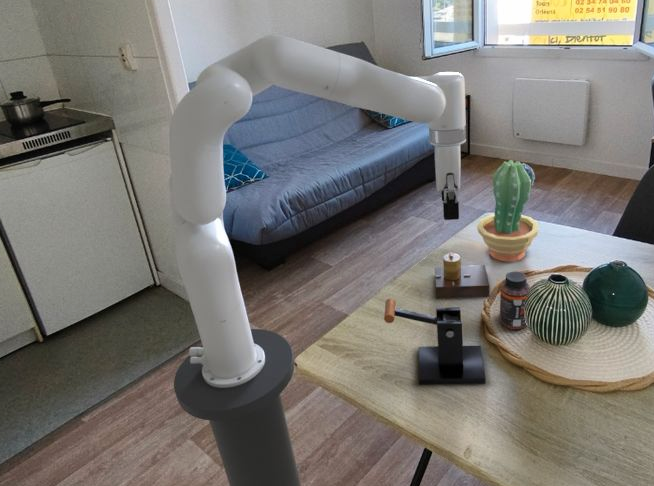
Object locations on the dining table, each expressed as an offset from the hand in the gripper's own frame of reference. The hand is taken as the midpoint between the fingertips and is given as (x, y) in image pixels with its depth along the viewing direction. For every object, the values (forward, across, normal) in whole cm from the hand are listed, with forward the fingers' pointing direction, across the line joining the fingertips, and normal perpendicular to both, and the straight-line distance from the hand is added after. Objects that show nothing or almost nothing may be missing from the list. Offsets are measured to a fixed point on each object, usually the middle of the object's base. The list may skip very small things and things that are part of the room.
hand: (450, 209), depth 111 cm
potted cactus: (+20, -15, +15) cm, 30 cm away
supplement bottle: (+20, +14, +12) cm, 28 cm away
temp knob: (+17, 0, 0) cm, 17 cm away
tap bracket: (+20, +27, -2) cm, 34 cm away
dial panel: (+20, 0, +2) cm, 20 cm away
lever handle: (+10, +27, -7) cm, 30 cm away
